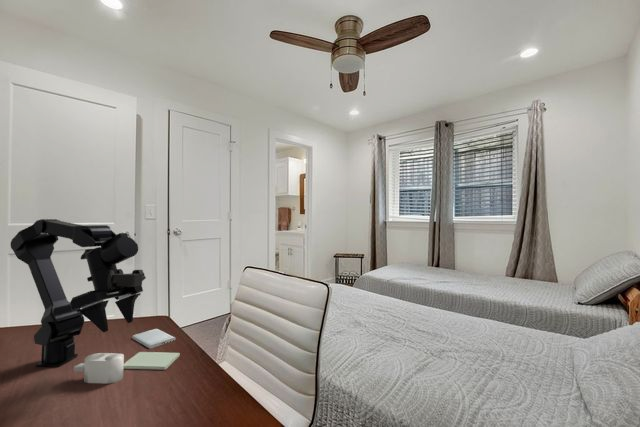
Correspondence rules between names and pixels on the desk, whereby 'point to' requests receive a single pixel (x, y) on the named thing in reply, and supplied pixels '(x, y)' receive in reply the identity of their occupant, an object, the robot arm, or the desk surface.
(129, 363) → the sage mat
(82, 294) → the robot arm
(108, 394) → the desk surface
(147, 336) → the hard drive
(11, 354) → the desk surface
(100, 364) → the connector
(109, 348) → the desk surface
